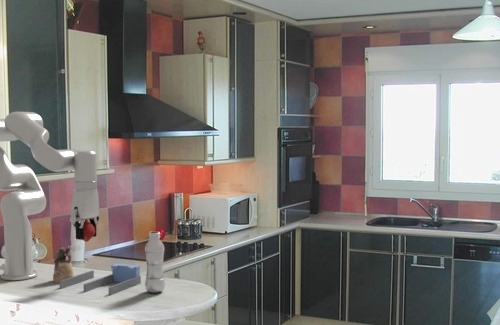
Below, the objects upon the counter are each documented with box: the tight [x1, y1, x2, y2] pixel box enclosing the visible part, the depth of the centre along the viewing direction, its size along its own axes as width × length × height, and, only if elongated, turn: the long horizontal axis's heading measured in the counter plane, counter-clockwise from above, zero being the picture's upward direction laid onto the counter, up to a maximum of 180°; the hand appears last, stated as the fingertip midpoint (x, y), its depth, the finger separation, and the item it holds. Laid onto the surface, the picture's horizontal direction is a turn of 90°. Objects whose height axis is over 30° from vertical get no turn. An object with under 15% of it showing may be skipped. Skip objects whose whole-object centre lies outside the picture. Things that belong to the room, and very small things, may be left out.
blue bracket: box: [110, 263, 141, 283], centre depth 214 cm, size 10×4×6 cm, turn 65°
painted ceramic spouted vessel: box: [52, 246, 75, 284], centre depth 218 cm, size 7×7×12 cm
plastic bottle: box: [144, 231, 166, 294], centre depth 201 cm, size 6×7×20 cm
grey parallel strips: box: [59, 270, 142, 296], centre depth 211 cm, size 21×17×2 cm
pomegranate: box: [83, 219, 95, 243], centre depth 211 cm, size 6×6×8 cm
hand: (86, 237), depth 212 cm, fingers closed on pomegranate, 5 cm apart
